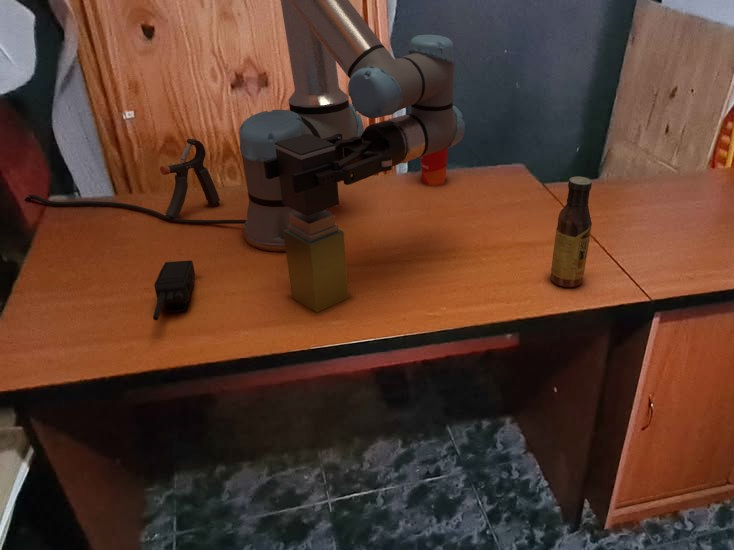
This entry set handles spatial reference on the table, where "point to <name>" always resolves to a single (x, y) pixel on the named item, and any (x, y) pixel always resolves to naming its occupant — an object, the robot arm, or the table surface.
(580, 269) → the sauce bottle
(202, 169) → the hand grip strengthener
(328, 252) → the olive square canister
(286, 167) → the dark lidded box
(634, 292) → the table surface
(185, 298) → the walkie-talkie
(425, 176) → the paper cup
